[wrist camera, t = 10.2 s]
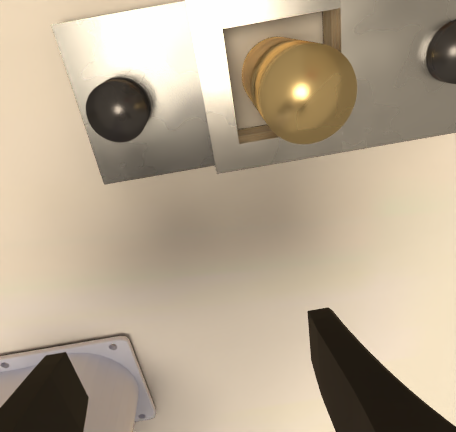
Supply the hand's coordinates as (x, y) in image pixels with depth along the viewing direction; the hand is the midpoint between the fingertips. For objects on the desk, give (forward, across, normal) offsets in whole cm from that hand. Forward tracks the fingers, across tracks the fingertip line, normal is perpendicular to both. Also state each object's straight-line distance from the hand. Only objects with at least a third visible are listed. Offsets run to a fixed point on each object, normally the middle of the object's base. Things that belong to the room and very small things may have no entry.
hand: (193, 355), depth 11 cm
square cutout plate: (+10, -5, -6) cm, 13 cm away
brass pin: (+10, -5, -6) cm, 13 cm away
